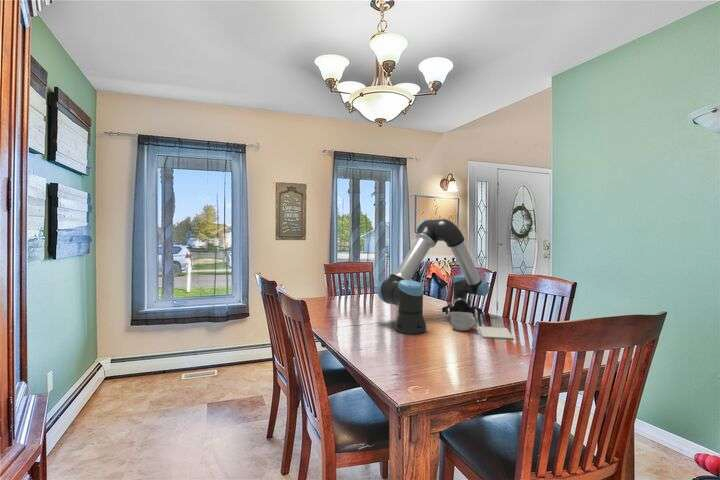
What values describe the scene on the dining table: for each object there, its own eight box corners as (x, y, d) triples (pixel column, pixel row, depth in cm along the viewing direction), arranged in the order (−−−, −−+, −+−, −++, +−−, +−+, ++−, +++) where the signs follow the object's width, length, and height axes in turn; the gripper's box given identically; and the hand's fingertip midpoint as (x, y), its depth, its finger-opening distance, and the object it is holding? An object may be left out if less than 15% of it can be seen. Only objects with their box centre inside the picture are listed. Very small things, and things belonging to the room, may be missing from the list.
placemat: (482, 338, 166) (482, 336, 166) (478, 327, 185) (478, 326, 185) (513, 339, 164) (513, 338, 164) (506, 328, 182) (506, 327, 182)
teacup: (446, 327, 185) (446, 311, 185) (465, 326, 188) (465, 310, 188) (461, 335, 171) (461, 317, 171) (482, 333, 175) (482, 316, 175)
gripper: (483, 313, 207) (488, 322, 186) (437, 311, 212) (437, 320, 192) (483, 299, 207) (488, 307, 186) (437, 298, 212) (437, 305, 191)
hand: (462, 313), depth 189 cm, fingers open, 13 cm apart
